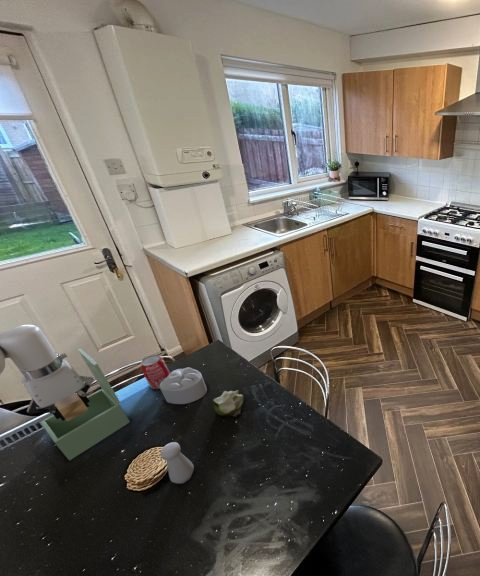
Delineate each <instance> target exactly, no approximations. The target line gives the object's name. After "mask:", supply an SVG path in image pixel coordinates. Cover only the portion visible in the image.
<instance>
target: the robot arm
mask: <svg viewBox="0 0 480 576" xmlns="http://www.w3.org/2000/svg"><path fill="white" fill-rule="evenodd" d="M66 358H68V355H67V353H66V352H63V353H60V354H59V353H57V352H56V350H55V349H54V347H53V346H52V344H51V343H50V341H49V339H48V338H47V337H46V335H45V334H44V332H43V330H42V329H41V328H40V327H38V326H37V325H34V324H23V325H19V326H16V327H13V328H10V329H8V330H6V331H2V332H0V375H1V374H3V372H4V371H5V368H6V359H10V360H11V361H12V362H13V364H14V365H15V366H16V367H17V369H18V370H19V371H20V373H21V374H22V378H21V381H22V384H23V386H24V388H25V390H26V392H27V393H28V394H29V396H30V397H31V400H30V402H29V404H28V407H27V409H26V412H27V414H30V415H31V414H39V413H40V414H51V415H54V416H55V418H56V419H59V418H61V420H62V421H64V420H65V418H64V417H63V415H62V414H61V413H60V411H59V410H58V409H57V407H56V406H55V403H56V402H58V401H60V400H62V399H64V398H65V397H67V396H69V395H71V394H73V393H76V394H77V395H78V396H79V397H80V398H81V400H82V401H83V403H84V404H85V406H86V407H89V405H88V402H90V401H89V399H88V398H87V396H88V394H87V393H88V391H89V389H90V387H91V386H92V384H93V383H94V381H95V378H94V377H91V376H85V375H79V373H78V372H77V371H76V369H75V368H74V367H73V366H72V365H71V364H70V363H69V362H68V361H67V360H66Z"/></svg>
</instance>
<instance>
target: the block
mask: <svg viewBox="0 0 480 576" xmlns="http://www.w3.org/2000/svg"><path fill="white" fill-rule="evenodd" d="M55 407H57V409H58V410H59V411H60V413H61V414H62V415H63V417H64V418H65V419H66V421H67V422H68V421H70V420H72V419H73V418H75V417H77V416H79V415H80V414H82V413H84V412H86V411H87V410H88V408H87V407H86V406H85V404H84V403H83V401H82V400H81V398H80V397H79V396H78V394H76V393H73V394H71V395H69V396H67V397H65V398H64V399H62V400H60V401H58V402H56V403H55Z"/></svg>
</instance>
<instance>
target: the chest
mask: <svg viewBox="0 0 480 576" xmlns="http://www.w3.org/2000/svg"><path fill="white" fill-rule="evenodd" d="M86 396H87V398H88V399H89V401H90V402H88V405H89V407H87V408H88V410H87V411H86V412H84V413H82V414H80V415H79V416H77V417H75V418H73V419H72V420H70V421H68V422H67V421H66V419H65V420H64V421H62V420H61V418H59V419H56V418H55V416H54V415H53V414H51V415H49V416H48V417H46V418H45V419H42V420H40V424H41V425H42V427H43V428H44V429H45V431H46V432H47V434H48V435H49V437H50V439H52V441H53V443H54V444H55V445H56V446H57V448H58V449H59V450H60V451H61V452H62V454H63V455H64V456H65V457H66V458H67V460H68V461H72V460H73V459H74V458H76V457H77V456H79V455H80V454H83V453H84V452H86V451H87V450H88V449H90V448H92V447H93V446H95V445H97V444H98V443H99V442H101V441H103V440H105V439H106V438H108V437H109V436H111V435H112V434H114V433H115V432H117V431H118V430H120V429H121V428H123V427H125V426H126V425H128V424H129V423H131V421H130V420H129V418H128V416H127V414H126V412H125V411H124V409H123V407H122V406H121V403H119V404H117V403H116V402H115V401H114V400H113V399H112V398H111V397H110V396H109V395H108V394H107V393H106V392H105V391H104V390H103V389H102V388H101V389H98V390H97V391H95V392H93V393H91V394H89V395H86Z"/></svg>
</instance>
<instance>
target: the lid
mask: <svg viewBox="0 0 480 576" xmlns="http://www.w3.org/2000/svg"><path fill="white" fill-rule="evenodd" d="M77 351H78V353H79V354H80V356H81V358H82V359H83V361H84V362H85V364H86V366H87V368H88V369H89V371H90V372H91V374H92V375H93V378H94V380H96V382H97V384H98V385H99V387H100V388H101V389H103V390H104V391H105V392H106V393H107V394H108V395H109V396H110V397H111V398H112V399H113V400H114V401H115V402H116V403H117V404H121V401H120V399H119V398H118V396H117V394H116V392H115V391H114V389H113V387H112V386H111V384H110V383H109V381H108V379H107V377H106V376H105V374H104V372H103V370H102V369H101V367H100V366H99V364H98V363H97V361H95V360H94V359H93V358H92V357H91V356H89V354H88V353H87V352H85V351H84V350H83V349H82V348H78V349H77Z"/></svg>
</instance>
